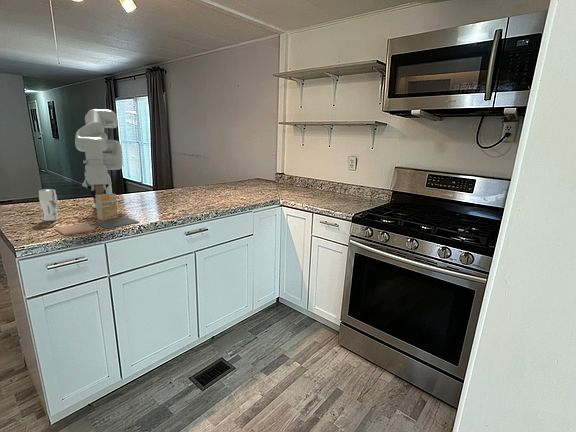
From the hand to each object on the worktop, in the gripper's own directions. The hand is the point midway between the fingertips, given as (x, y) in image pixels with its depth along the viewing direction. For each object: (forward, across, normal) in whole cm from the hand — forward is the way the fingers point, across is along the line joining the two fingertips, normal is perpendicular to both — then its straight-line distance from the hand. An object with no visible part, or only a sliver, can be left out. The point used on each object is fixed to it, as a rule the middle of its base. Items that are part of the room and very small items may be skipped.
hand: (98, 197), depth 164 cm
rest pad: (+10, -18, -19) cm, 28 cm away
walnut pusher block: (+3, 0, 0) cm, 3 cm away
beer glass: (+10, -20, +8) cm, 24 cm away
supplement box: (+10, 0, -9) cm, 14 cm away
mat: (+10, 0, -20) cm, 22 cm away
